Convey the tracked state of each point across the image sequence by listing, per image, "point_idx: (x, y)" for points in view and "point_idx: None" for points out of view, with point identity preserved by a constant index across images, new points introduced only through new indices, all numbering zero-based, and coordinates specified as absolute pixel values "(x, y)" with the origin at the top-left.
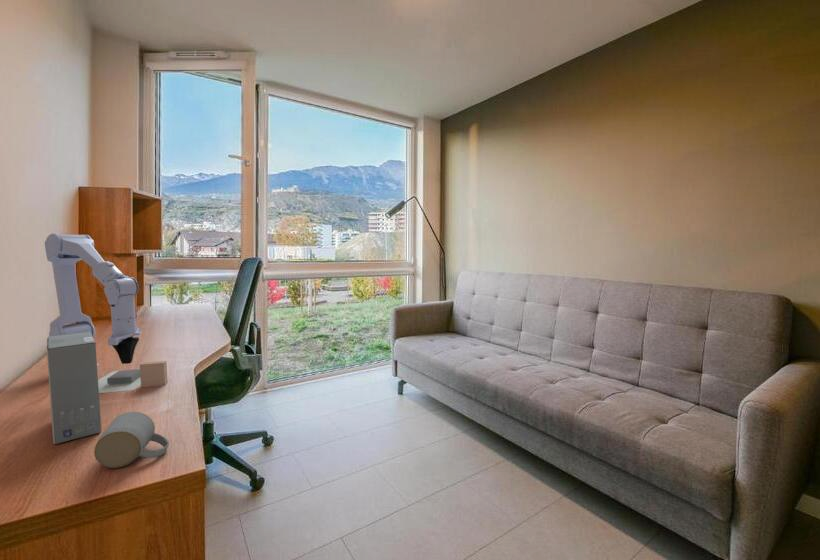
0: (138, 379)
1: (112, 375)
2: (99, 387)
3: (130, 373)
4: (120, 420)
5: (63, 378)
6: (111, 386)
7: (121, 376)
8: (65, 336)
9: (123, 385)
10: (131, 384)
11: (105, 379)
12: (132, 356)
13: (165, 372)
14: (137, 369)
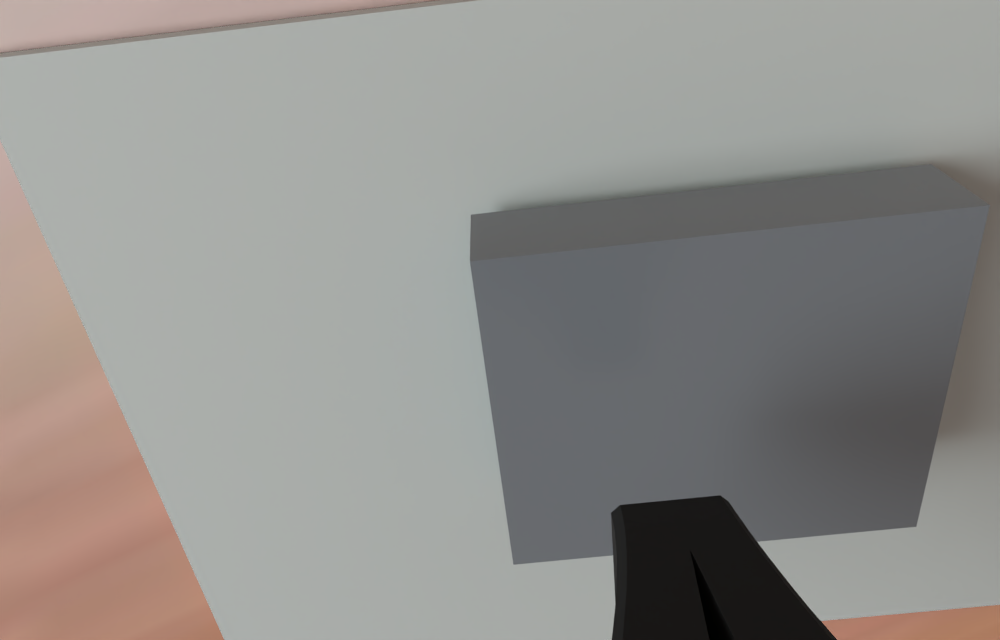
0: (721, 147)
1: (773, 532)
2: (933, 492)
3: (748, 325)
4: None
5: None
6: (954, 377)
7: (891, 383)
8: None
9: (991, 230)
10: (992, 123)
11: (586, 587)
12: (670, 603)
13: None
14: (488, 334)
